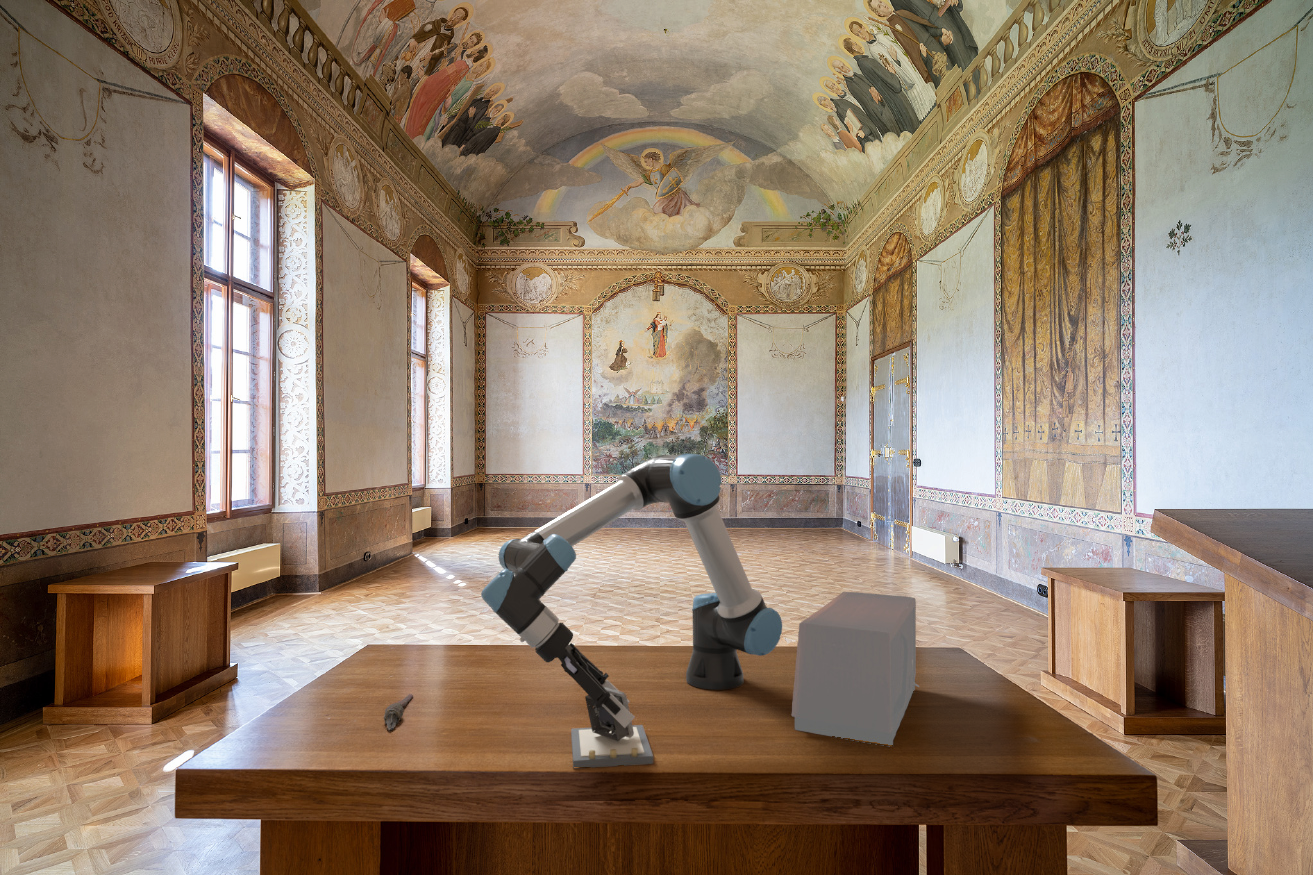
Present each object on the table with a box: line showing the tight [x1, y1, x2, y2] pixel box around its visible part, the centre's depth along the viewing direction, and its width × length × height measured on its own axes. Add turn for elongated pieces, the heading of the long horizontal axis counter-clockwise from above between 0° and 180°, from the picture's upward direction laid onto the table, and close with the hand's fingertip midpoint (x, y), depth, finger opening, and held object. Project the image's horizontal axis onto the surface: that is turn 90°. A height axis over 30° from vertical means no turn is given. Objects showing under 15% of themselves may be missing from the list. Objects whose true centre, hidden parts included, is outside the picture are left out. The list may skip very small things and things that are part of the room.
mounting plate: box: [570, 724, 654, 769], centre depth 133 cm, size 15×16×3 cm
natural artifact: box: [383, 693, 414, 732], centre depth 152 cm, size 4×23×4 cm, turn 2°
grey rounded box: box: [791, 591, 920, 746], centre depth 156 cm, size 45×22×24 cm, turn 151°
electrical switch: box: [584, 687, 634, 741], centre depth 133 cm, size 9×5×9 cm, turn 46°
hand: (627, 713), depth 133 cm, fingers closed on electrical switch, 8 cm apart
